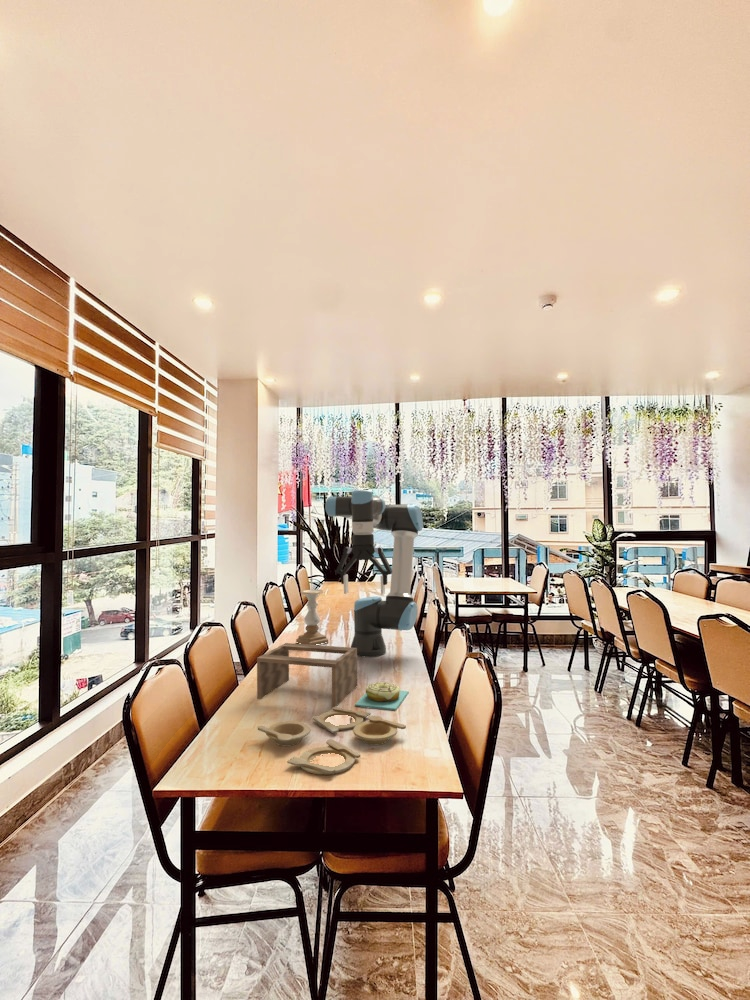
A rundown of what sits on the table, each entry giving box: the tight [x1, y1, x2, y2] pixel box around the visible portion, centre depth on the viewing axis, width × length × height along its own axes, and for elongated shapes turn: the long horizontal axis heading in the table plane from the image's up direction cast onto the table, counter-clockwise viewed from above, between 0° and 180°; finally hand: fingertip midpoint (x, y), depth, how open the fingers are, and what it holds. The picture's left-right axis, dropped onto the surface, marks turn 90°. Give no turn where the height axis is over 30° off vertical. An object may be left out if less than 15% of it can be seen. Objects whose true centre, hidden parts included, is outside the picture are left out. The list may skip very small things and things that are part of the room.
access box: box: [256, 642, 358, 707], centre depth 173 cm, size 20×27×13 cm
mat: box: [354, 689, 409, 711], centre depth 165 cm, size 16×13×1 cm
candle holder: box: [295, 589, 329, 645], centre depth 240 cm, size 11×11×24 cm
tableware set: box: [256, 706, 407, 775], centre depth 136 cm, size 35×29×4 cm
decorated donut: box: [365, 681, 401, 702], centre depth 165 cm, size 10×11×4 cm
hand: (364, 593), depth 185 cm, fingers open, 13 cm apart
